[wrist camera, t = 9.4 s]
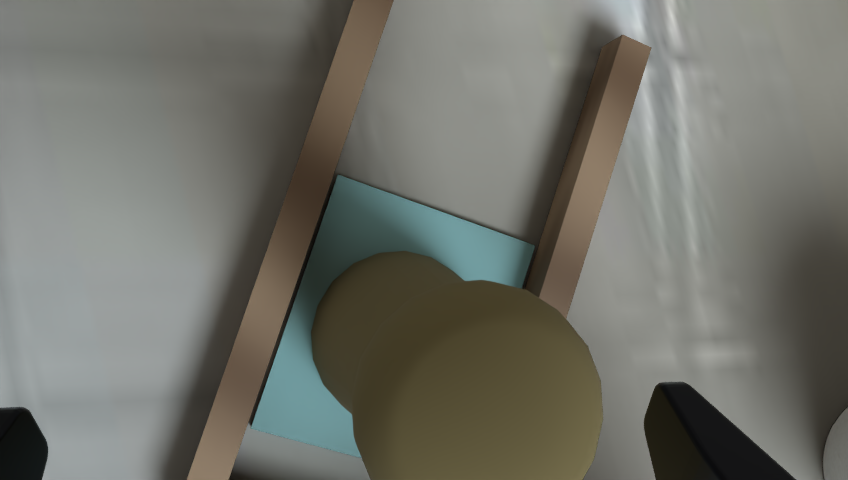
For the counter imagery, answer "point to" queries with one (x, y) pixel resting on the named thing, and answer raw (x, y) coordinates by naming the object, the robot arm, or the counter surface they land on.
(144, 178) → the counter surface
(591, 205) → the rail track
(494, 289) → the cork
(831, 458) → the dixie cup
